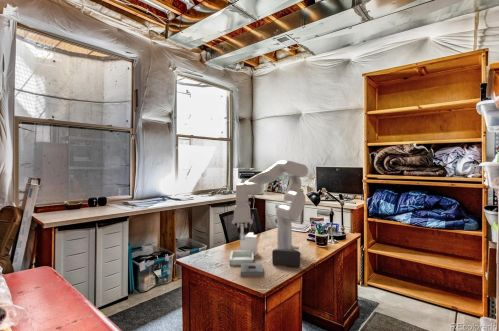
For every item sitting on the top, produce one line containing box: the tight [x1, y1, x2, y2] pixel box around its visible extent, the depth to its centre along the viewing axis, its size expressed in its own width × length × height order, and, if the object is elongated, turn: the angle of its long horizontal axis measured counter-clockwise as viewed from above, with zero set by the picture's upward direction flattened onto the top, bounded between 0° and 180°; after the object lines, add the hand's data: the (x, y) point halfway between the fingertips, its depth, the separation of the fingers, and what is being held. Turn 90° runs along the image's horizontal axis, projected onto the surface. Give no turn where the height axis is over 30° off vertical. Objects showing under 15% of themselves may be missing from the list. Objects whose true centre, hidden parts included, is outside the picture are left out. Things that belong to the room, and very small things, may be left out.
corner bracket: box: [239, 232, 258, 256], centre depth 187 cm, size 11×11×12 cm
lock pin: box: [239, 223, 246, 241], centre depth 170 cm, size 3×3×9 cm
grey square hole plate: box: [240, 262, 264, 277], centre depth 154 cm, size 12×12×3 cm
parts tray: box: [229, 250, 255, 266], centre depth 171 cm, size 14×16×4 cm
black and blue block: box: [271, 248, 301, 268], centre depth 164 cm, size 16×5×9 cm, turn 78°
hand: (242, 233), depth 170 cm, fingers closed on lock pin, 3 cm apart
